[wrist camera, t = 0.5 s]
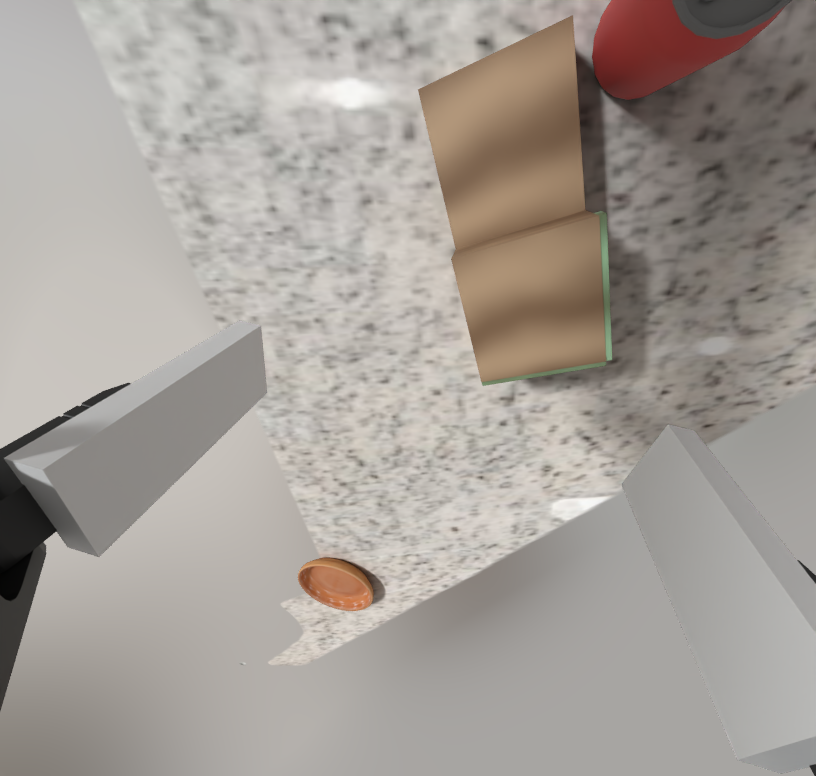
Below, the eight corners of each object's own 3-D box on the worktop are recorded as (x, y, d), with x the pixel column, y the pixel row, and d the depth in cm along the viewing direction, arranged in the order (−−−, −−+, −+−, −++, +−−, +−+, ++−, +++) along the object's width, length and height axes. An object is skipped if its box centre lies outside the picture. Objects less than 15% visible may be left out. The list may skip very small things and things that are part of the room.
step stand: (426, 100, 27) (406, 76, 21) (568, 34, 24) (598, -20, 17) (484, 348, 37) (482, 386, 31) (589, 327, 34) (612, 365, 27)
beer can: (569, 54, 24) (623, -28, 14) (660, -66, 21) (815, -284, 11) (629, 123, 26) (717, 91, 16) (724, 21, 22) (915, -103, 12)
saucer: (301, 543, 67) (293, 558, 65) (378, 564, 65) (374, 579, 63) (306, 585, 76) (300, 599, 74) (375, 603, 74) (371, 618, 72)
